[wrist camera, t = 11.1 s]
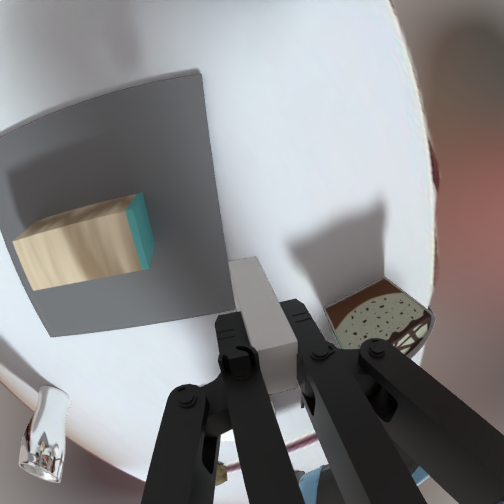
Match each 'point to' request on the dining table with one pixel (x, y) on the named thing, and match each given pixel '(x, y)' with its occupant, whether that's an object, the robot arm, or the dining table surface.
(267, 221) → the dining table surface
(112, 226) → the maple block
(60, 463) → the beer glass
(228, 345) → the robot arm
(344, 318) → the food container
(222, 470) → the stone block
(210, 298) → the mat
